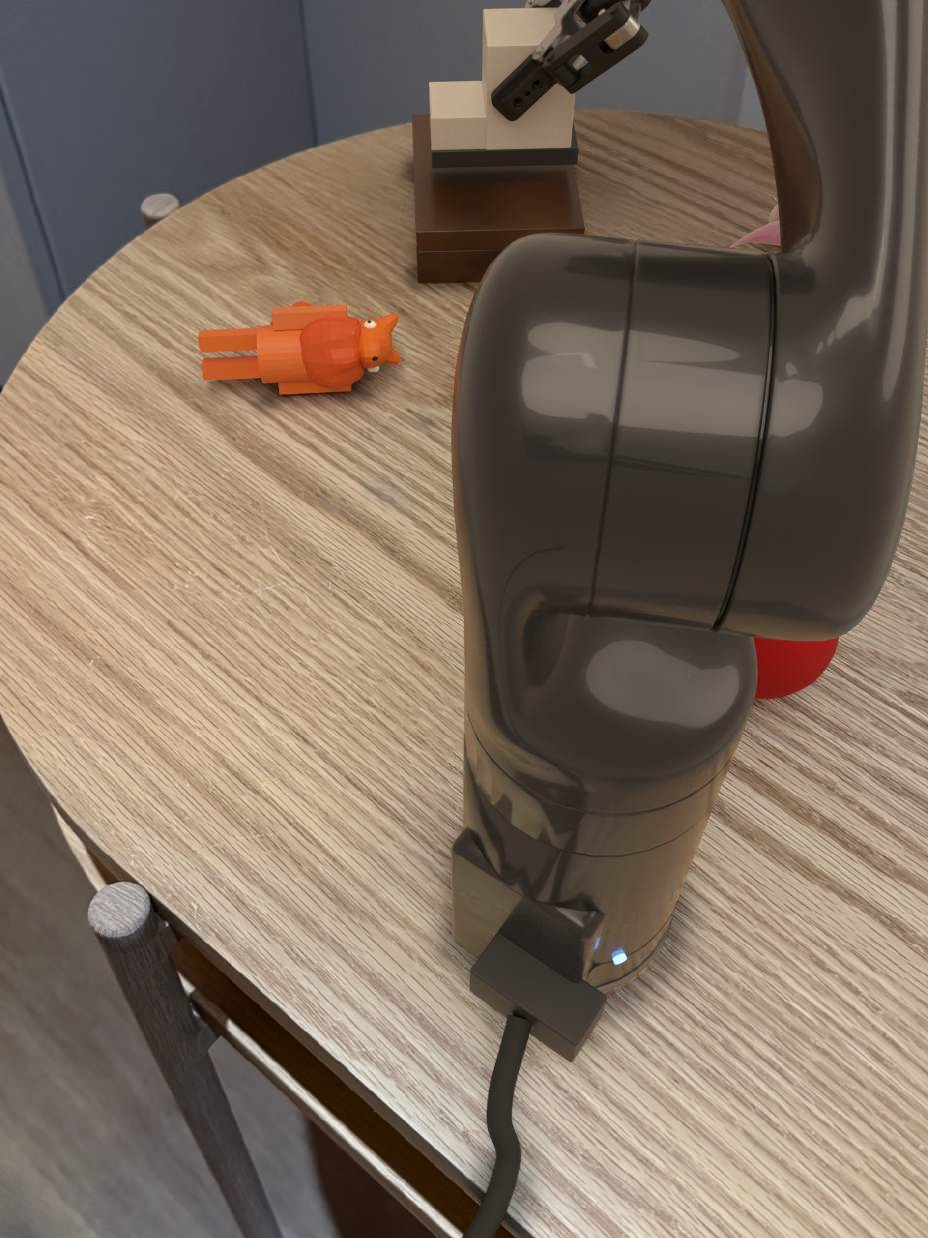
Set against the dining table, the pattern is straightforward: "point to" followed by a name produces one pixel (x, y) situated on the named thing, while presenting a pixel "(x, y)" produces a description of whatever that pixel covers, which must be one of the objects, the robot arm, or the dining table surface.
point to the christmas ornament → (790, 665)
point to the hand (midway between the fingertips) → (498, 86)
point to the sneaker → (478, 129)
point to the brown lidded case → (483, 210)
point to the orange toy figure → (303, 349)
